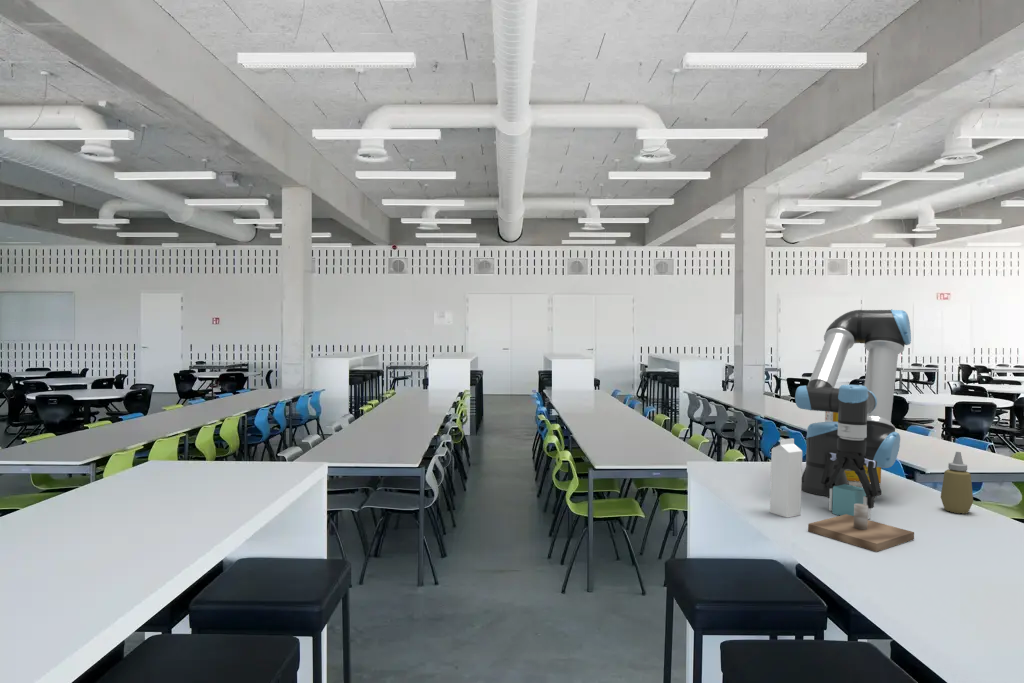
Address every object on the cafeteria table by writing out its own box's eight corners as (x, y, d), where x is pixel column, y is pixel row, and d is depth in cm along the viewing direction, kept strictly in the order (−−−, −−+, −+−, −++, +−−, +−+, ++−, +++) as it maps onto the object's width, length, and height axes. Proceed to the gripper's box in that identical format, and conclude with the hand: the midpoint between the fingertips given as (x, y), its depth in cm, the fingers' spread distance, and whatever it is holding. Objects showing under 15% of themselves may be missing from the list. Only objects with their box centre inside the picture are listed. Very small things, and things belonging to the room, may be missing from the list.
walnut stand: (808, 531, 170) (808, 501, 170) (845, 521, 179) (846, 493, 179) (876, 551, 155) (877, 519, 154) (913, 539, 164) (914, 509, 164)
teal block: (832, 513, 187) (833, 486, 187) (844, 510, 190) (845, 484, 190) (854, 519, 181) (855, 491, 181) (866, 516, 185) (867, 488, 185)
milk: (769, 512, 187) (771, 438, 186) (783, 510, 190) (784, 436, 189) (787, 518, 182) (788, 441, 181) (801, 515, 184) (802, 439, 184)
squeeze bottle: (978, 516, 187) (980, 455, 186) (947, 514, 188) (949, 453, 188) (964, 508, 195) (966, 450, 194) (935, 506, 196) (937, 448, 196)
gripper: (809, 433, 192) (806, 506, 193) (883, 445, 174) (881, 526, 174) (823, 431, 197) (821, 503, 197) (897, 443, 178) (895, 522, 178)
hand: (849, 514), depth 186 cm, fingers open, 9 cm apart
